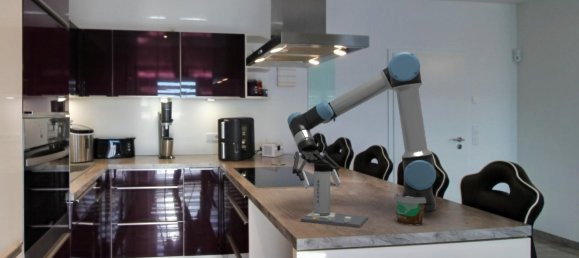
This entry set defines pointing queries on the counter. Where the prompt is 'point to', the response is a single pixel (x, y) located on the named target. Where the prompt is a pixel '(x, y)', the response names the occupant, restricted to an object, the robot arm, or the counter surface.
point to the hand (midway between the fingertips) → (323, 186)
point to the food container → (409, 209)
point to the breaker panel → (336, 219)
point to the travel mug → (322, 188)
